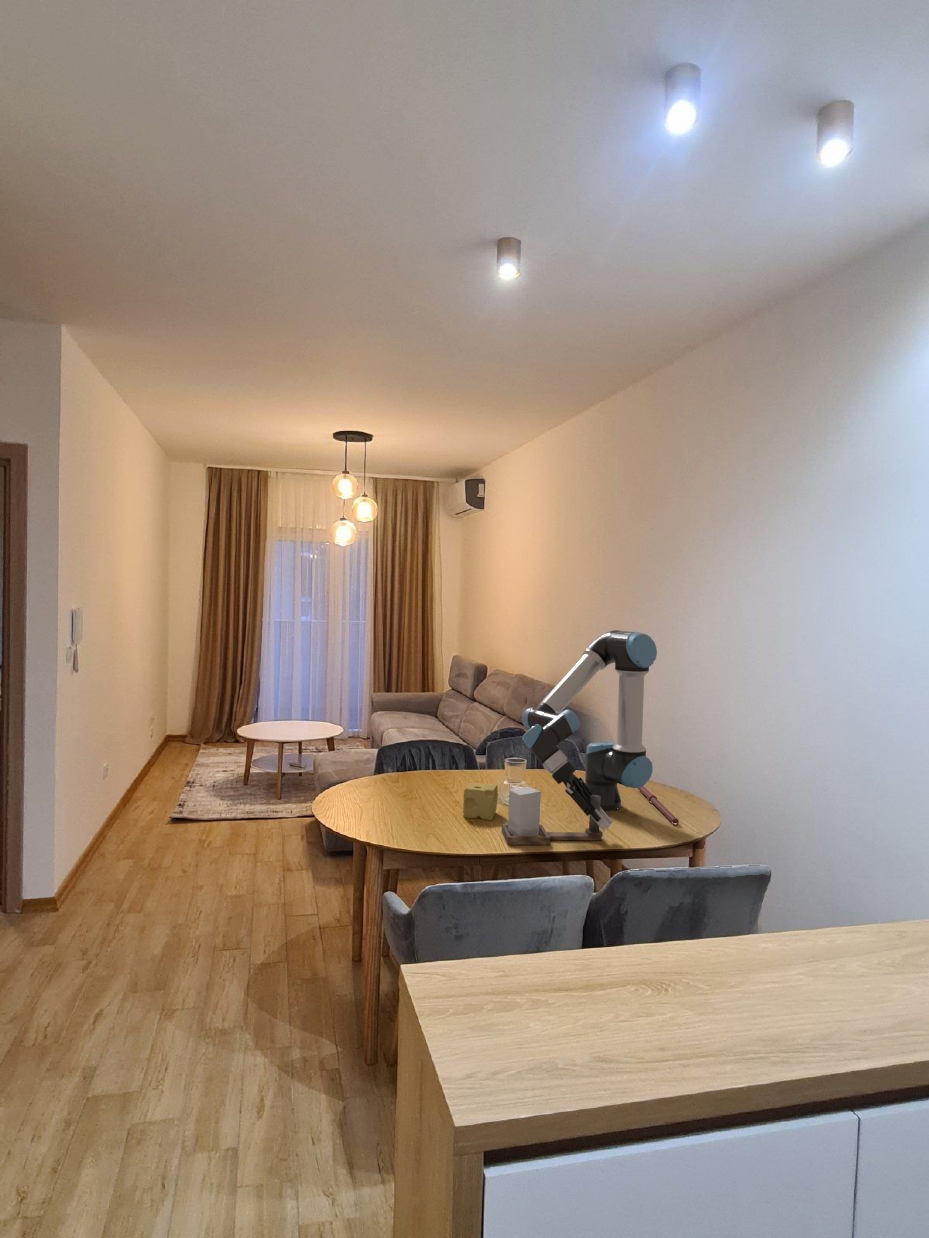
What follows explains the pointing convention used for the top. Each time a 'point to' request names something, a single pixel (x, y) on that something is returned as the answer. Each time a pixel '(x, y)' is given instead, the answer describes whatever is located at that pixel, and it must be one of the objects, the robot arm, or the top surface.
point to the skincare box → (524, 812)
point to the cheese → (480, 801)
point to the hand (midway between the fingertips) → (608, 826)
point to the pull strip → (545, 837)
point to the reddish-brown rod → (658, 805)
